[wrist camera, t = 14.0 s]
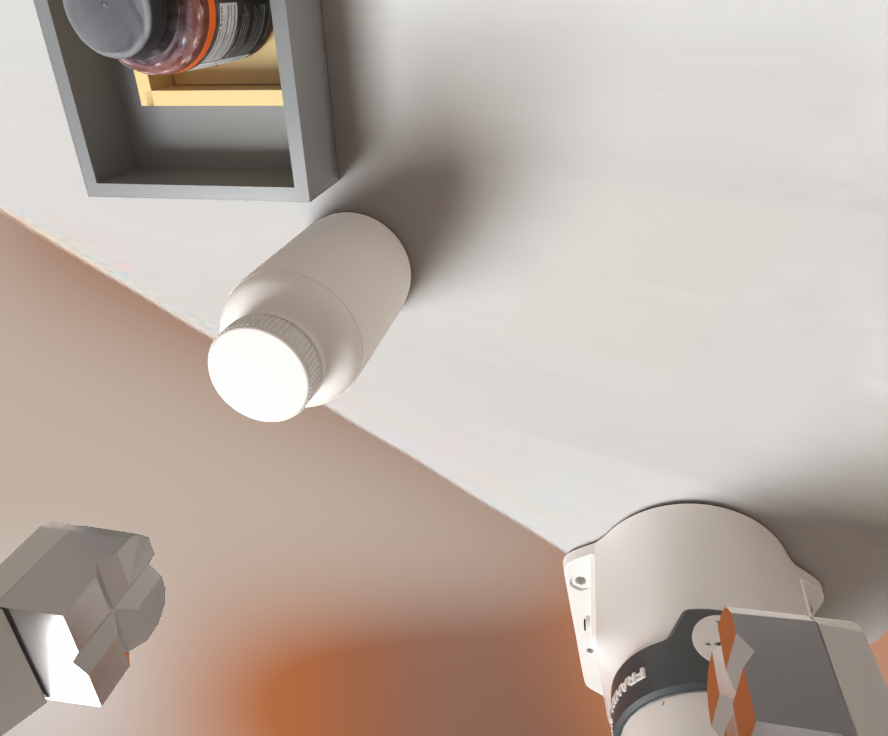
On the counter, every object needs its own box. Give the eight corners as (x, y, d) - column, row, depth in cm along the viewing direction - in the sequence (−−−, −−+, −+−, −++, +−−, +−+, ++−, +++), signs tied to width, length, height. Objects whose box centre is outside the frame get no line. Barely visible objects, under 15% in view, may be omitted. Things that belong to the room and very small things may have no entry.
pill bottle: (294, 202, 44) (169, 291, 31) (415, 216, 42) (338, 314, 30) (300, 314, 48) (192, 434, 35) (412, 329, 46) (342, 459, 34)
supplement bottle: (160, 5, 38) (14, 8, 29) (213, -91, 35) (70, -122, 26) (243, 83, 40) (130, 113, 30) (301, -3, 37) (196, -1, 27)
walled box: (338, 180, 42) (309, 202, 38) (136, 176, 45) (88, 196, 40) (309, -112, 35) (269, -126, 31) (70, -97, 38) (3, -108, 33)
